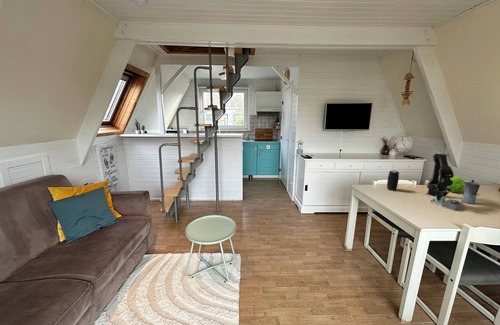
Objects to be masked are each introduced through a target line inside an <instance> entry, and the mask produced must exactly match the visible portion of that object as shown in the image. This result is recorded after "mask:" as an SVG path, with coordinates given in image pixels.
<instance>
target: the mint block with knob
mask: <svg viewBox="0 0 500 325" xmlns="http://www.w3.org/2000/svg"><path fill="white" fill-rule="evenodd" d="M446 198H447V195H446V196H442V198H441V199H440V200H439V201H437V197H436V196H435V197H434V199H435V201H436V202H439V203H443V202H444V201H446Z"/></svg>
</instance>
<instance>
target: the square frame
mask: <svg viewBox="0 0 500 325" xmlns="http://www.w3.org/2000/svg"><path fill="white" fill-rule="evenodd" d="M429 203H431V204H434V205H437V206H441V207H442V208H445V209H449V210H452V211H457V210H460V209H463V207H464V206H463V205H464V202H462V201H459V200H457V199H456V200H455V199H450V198H449V199H447V200H445V201H444V202H443V203H439V202H436V201H435V198H433V199H431V200H430V201H429Z"/></svg>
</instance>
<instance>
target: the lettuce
mask: <svg viewBox="0 0 500 325" xmlns="http://www.w3.org/2000/svg"><path fill="white" fill-rule="evenodd" d="M451 180H452V181H453V184H452V185H451V186H447V188H451V189H452V190H451V192H450V193H458V192H463V191H465V182H466V181H465V180H464V179H463V178H461V177H459V176H453V178H451Z"/></svg>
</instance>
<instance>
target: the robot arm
mask: <svg viewBox="0 0 500 325" xmlns="http://www.w3.org/2000/svg"><path fill="white" fill-rule="evenodd" d="M447 156H448V155H447V154H444V153H434V154H433V155H432V161H433V162H434V165H433V169H432V170H433V172H432V176H431V178H430V179H429V180H428V182H427V184H426V189H428V191H427V192H426V193H425V194H426V195H429V196H433V197H434V196H436V197H437V201H439V200H440V199H441V198H442V196H446V197H447V196H448V195H449V193H452V192H451V190H452V189H451V188H447V186H451V185H452V184H453V181H452V180H451V178H453V177H455V175H454V174H455V173H454V171H453V169H452V167H451V166H449V163H448V157H447Z"/></svg>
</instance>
